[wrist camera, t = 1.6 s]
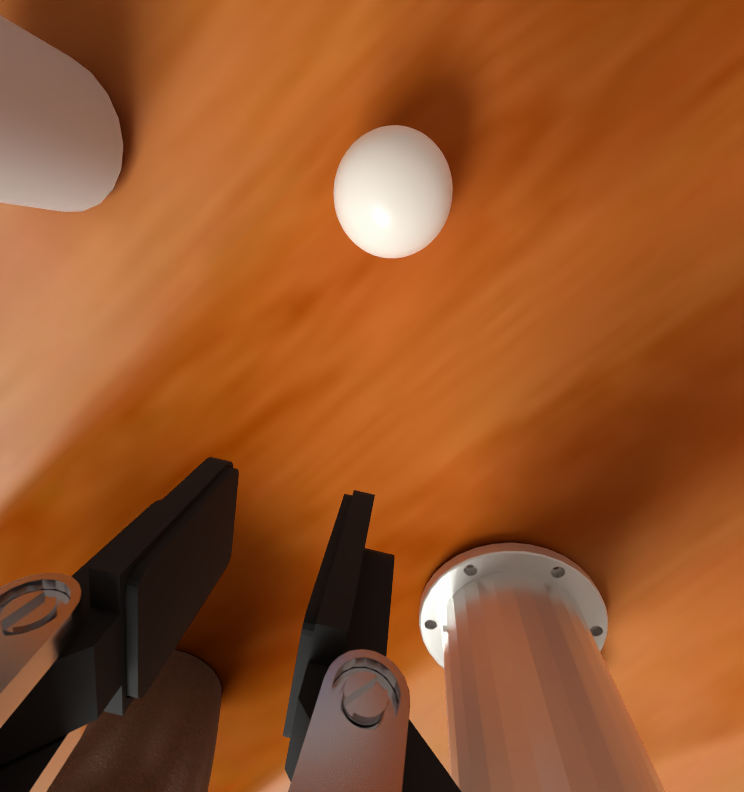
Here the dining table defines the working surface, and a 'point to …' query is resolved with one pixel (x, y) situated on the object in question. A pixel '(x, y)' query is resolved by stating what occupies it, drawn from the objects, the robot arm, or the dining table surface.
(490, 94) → the dining table surface
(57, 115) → the can
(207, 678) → the plant pot
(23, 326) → the dining table surface
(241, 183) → the dining table surface
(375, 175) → the cue ball
